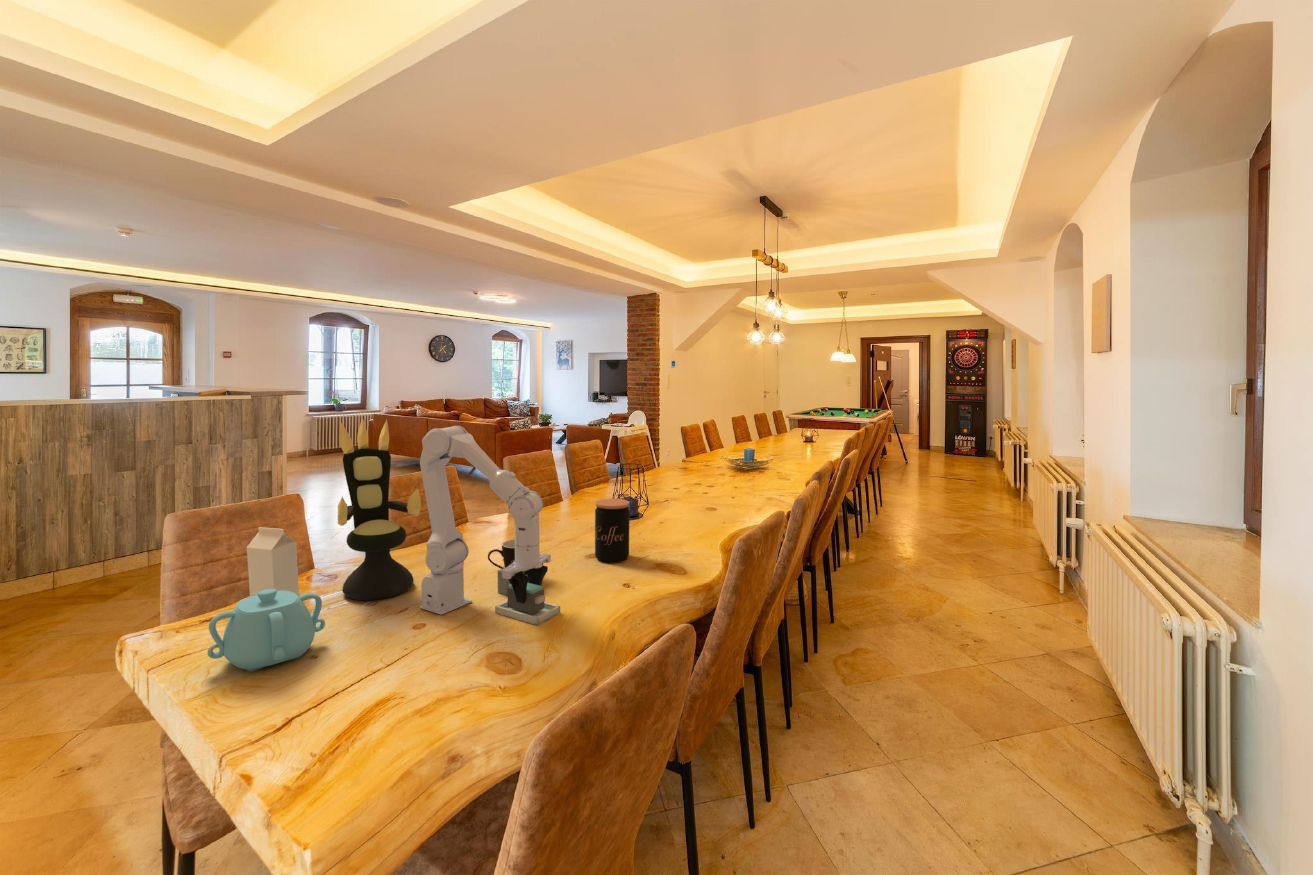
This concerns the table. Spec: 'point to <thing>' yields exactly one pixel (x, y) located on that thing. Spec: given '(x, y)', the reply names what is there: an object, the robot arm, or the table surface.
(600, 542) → the coffee jar
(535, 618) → the tray
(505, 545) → the coffee mug
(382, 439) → the black throne chair
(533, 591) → the mint green tabbed block
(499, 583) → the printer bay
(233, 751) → the table surface
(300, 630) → the decorative pot
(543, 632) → the table surface
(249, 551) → the milk carton
